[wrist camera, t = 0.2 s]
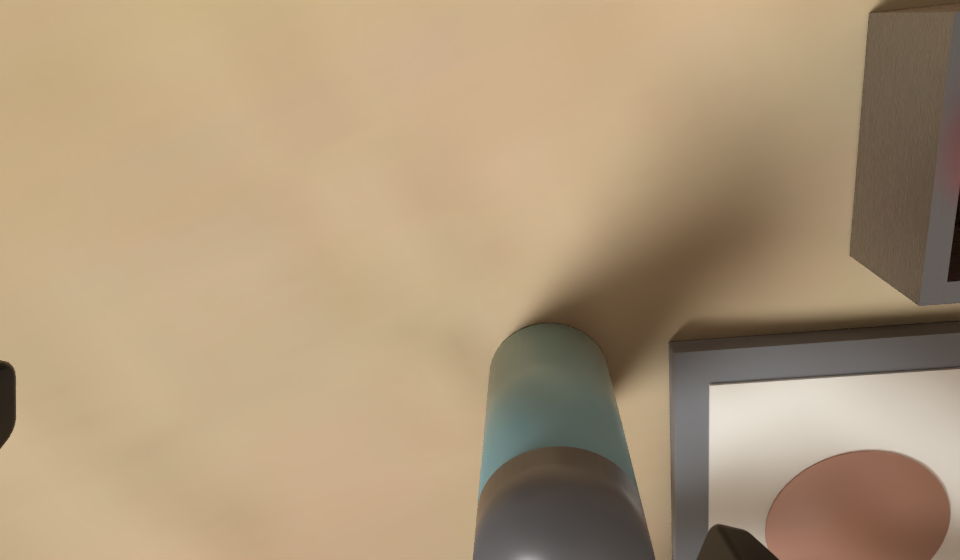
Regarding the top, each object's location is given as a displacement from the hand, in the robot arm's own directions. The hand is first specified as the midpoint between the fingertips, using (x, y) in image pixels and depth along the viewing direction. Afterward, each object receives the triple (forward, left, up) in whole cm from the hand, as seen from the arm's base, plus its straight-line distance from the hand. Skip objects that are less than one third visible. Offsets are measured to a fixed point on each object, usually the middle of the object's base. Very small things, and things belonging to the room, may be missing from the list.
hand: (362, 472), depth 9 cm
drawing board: (-12, -12, -14) cm, 22 cm away
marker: (-6, -2, -14) cm, 15 cm away
